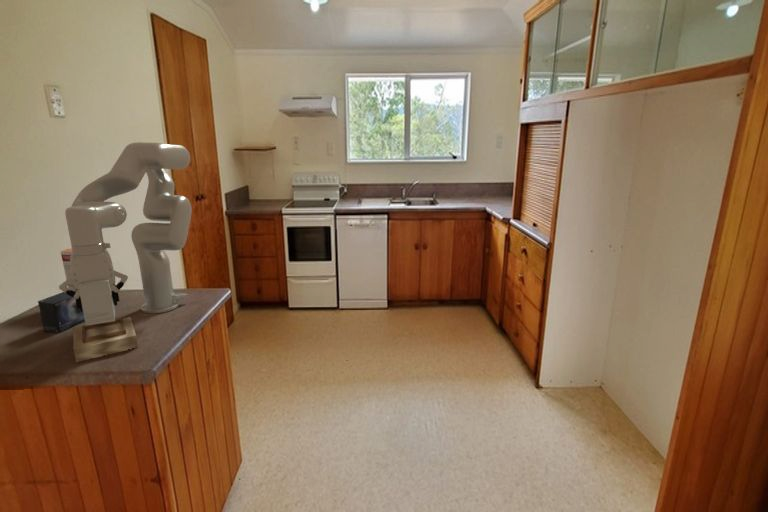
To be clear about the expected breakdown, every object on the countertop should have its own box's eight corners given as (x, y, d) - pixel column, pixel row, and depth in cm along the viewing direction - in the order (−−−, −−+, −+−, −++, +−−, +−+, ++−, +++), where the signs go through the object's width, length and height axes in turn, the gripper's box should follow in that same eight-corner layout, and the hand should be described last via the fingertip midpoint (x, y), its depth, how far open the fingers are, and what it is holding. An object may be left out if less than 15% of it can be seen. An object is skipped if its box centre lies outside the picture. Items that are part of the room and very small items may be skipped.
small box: (59, 333, 131) (53, 303, 128) (43, 331, 132) (35, 301, 129) (89, 320, 141) (83, 291, 138) (73, 318, 142) (67, 289, 139)
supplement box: (115, 321, 121) (108, 280, 118) (85, 326, 117) (76, 284, 114) (116, 312, 127) (110, 273, 124) (87, 317, 124) (79, 277, 120)
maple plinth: (132, 327, 135) (129, 313, 134) (138, 347, 123) (135, 331, 121) (76, 339, 127) (72, 324, 125) (76, 362, 114) (72, 345, 113)
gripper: (123, 243, 125) (132, 297, 129) (50, 250, 115) (62, 309, 119) (125, 248, 119) (134, 304, 123) (49, 256, 109) (62, 318, 113)
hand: (99, 306), depth 121 cm, fingers closed on supplement box, 7 cm apart
